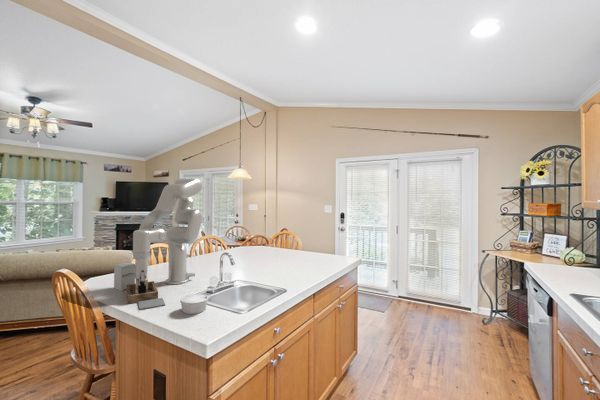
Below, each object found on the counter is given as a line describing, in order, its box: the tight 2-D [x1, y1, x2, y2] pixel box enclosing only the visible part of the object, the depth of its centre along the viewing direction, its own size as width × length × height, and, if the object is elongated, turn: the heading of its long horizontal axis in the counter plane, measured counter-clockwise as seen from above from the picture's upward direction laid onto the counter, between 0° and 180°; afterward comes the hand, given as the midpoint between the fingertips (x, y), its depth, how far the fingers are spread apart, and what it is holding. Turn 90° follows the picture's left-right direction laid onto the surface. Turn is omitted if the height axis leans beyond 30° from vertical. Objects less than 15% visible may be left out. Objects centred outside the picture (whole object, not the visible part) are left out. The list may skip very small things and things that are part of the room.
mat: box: [137, 297, 166, 311], centre depth 131 cm, size 10×10×1 cm
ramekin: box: [179, 293, 209, 315], centre depth 124 cm, size 11×11×5 cm
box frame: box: [126, 280, 159, 305], centre depth 143 cm, size 12×20×4 cm, turn 32°
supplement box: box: [113, 262, 136, 291], centre depth 154 cm, size 7×7×13 cm
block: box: [135, 277, 149, 294], centre depth 143 cm, size 5×5×8 cm
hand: (141, 291), depth 143 cm, fingers closed on block, 5 cm apart
